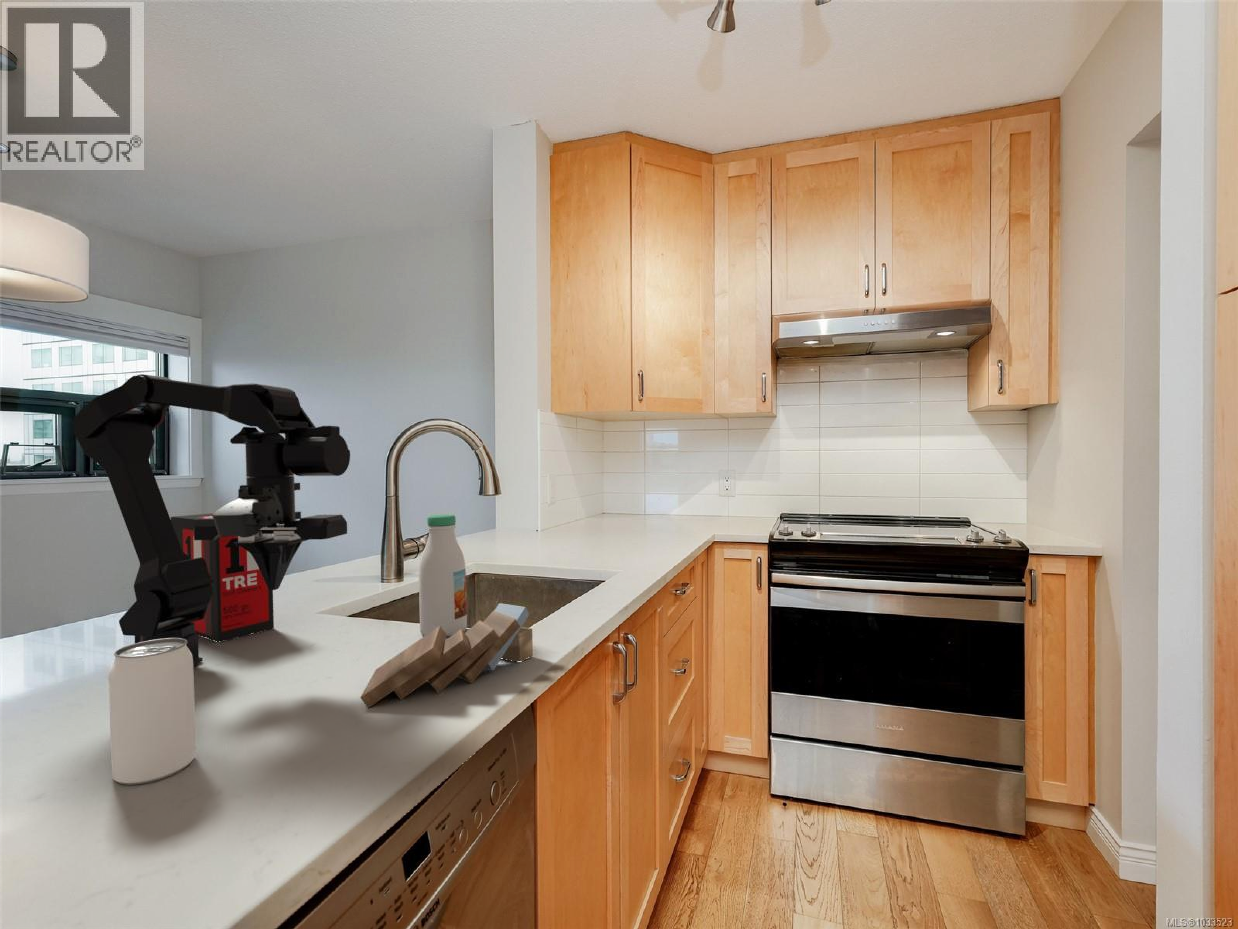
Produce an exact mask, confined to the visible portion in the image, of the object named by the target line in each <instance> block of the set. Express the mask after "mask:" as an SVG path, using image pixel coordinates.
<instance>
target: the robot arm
mask: <svg viewBox="0 0 1238 929" xmlns="http://www.w3.org/2000/svg"><path fill="white" fill-rule="evenodd" d="M142 404H144V406H142V407H141V408H140V409H139V408H137V407H139V406H140V405H142ZM171 406H172V407H179V408H183V409H185V408H186V409H192V410H198V411H205V412H211V413H216V414H219V415H222V416H223V417H225V418H227V419H229V420H231V421H234V422H237V423H238V424H242V425H245V426H243V427H242V429H241V430H240V431H239V432H238V433H236V434H235V435H233V437H231V439H230V440H229V442H230V444H232V445H245V478H246V483H245V484H243V485H242V484H241V485H239V489H238V490H237V491H238V492H237V493H238V496H237V498H236V499H234V500H232V501H230V502H228V503H226V504H225V505H223V506H222V507H220V508H219V509H217V510H215V511H213V512H212V516H213V517H210V518H203V519H199V520H198V522H197V523H196V525H195V526H194V540H216V539H217V538H218V537H222V538H226V537H227V536H238V542H234V544H235V545H236V546H241V547H243V548H244V549H245V550H247V551H248V552H250V553H251V555H252V556H253V558H254V560H255V561H256V563H257V565H258V567H259V570H260V572H261V574H262V576H263V579H264V581H265V583H266V585H267V587H268V589H269V590H273V591H276V590H278V589H279V588H280V587H281V584H282V582H283V580H284V579H285V578H284V577H285V575H286V573H287V571H288V568H289V566H290V564H291V563H292V560H293V558H294V557H295V554H296V553H297V552H298V549H299V548H300V546H301V544H303V542H306V541H309V540H329V539H333V538H337V537H339V536H344V535H347V534H348V522H347V521H346V518H345V517H344V516H343V515H342V514H316V515H311V516H306V517H302V512H301V511H296V496H295V495H296V491H300V490H301V482H295V476H297V477H338V476H339V477H340V476H342V475H343V474H344V473H346V471H347V469H348V468H349V465H350V461H351V451H350V449H349V447H348V444H347V441H346V439H345V438H344V437H343V436H342V435H341V434H340V433H341V432H340V431H341V430H340V427H339V425H321V426H317V427H316V426H315V424H314V422H313V421H312V420H311V418H310V417H309V416H308V415H307V412H305V410H304V409H303V407H302V406H301V402H300V400H299V397H298V396H297V394H296V392H295V391H294V390H293V389H291V388H286V387H280V386H275V385H274V386H273V385H267V384H259V383H251V382H250V383H239V384H237V383H236V384H230V385H225V386H218V385H210V384H202V383H198V382H197V383H196V382H191V381H190V382H188V381H182V380H175V379H171V378H169V377H166V376H158V375H151V374H145V373H144V374H142V373H141V374H137V375H132V376H131V377H130V378H128V379H127V380H126V381H125V382H124V383H123V384H122V385H121V386H118V387H116V388H114V389H112V390H109V391H107V392H105V393H103V394H100V395H97V396H96V397H94V398H93V399H91V401H89V403H87V404H86V405H85V406H84V407H83V408H82V407H81V409H80V410H79V411H78V412H77V414H76V415H75V416H74V417H73V419H72V423H71V424H72V425H71V426H72V432H73V434H74V437H75V438H76V440H77V441H78V443H79V445H80V447H81V449H82V451H83V453H84V454H85V455H86V456H88V457H89V458H90V459H92V461H94V462H95V463H96V464H97V465H99V466H100V467H102V468H103V469H104V470H105V472H106V475H107V478H108V480H109V483H110V485H111V488H112V491H113V494H114V497H115V499H116V502H117V505H118V507H119V510H120V513H121V516H122V518H123V521H124V523H125V526H126V529H127V531H128V534H129V538H130V540H131V543H132V545H133V548H134V550H135V553H136V555H137V556H136V557H137V559H138V562H139V567H138V570H137V573H136V576H135V580H134V583H133V590H134V594H135V600H136V601H135V602H134V603H133V604H132V605H131V606H130V607H129V608H128V610H126V612H125V613H124V614H123V615H122V616H121V618H119V620H118V623H119V624H118V625H119V627H120V630H121V632H122V635H123V636H131V637H132V636H134V644H135V643H139V642H144V641H149V640H155V639H164V638H182V639H186V640H187V644H186V645H187V647H188V649H189V650H190V652H191V653H192V656H193V667H194V666H196V665H198V664H200V663H201V662H203V661H204V660H203V659H204V658H203V657H200V656H199V654H200V652H199V651H200V649H199V636H198V634H195V623H191V622H194V621H197V620H202V619H204V616H205V613H206V610H207V606H208V604H209V601H210V599H211V597H212V596H213V589H212V585H211V583H214V580H213V579H212V578H211V576H210V574H209V573H208V569H207V564H206V561H205V560H204V559H203V558H202V557H200V558H195V559H192V558H190V557H189V556H188V555H186V554H185V553H184V552H183V551H182V549H181V546H180V544H179V541H178V538H177V536H176V533H175V530H174V528H173V525H172V522H171V516H170V514H169V512H168V509H167V506H166V503H165V501H164V497H163V496H162V493H161V491H160V488H159V485H158V482H157V479H156V476H155V474H154V472H153V469H152V466H151V462H150V457H151V454H152V452H153V448H154V445H155V443H156V442H155V436H154V431H155V430H156V428H158V427H159V426H161V424H163V422H164V421H165V418H166V414H167V410H168V409H169V407H171ZM258 429H259V430H261V431H259V430H258ZM282 434H284V436H283V435H282ZM272 535H273V536H272Z"/></svg>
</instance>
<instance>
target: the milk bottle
mask: <svg viewBox="0 0 1238 929" xmlns="http://www.w3.org/2000/svg"><path fill="white" fill-rule="evenodd" d="M426 521H427V529H428V538H427V541H426V544H425V547H424V549H423V551H422V554H421V556H420V560H419V566H418V569H419V570H418V571H419V572H418V592H419V594H418V597H419V599H418V600H419V601H418V602H419V605H418V606H419V630H420V634H421V635H422V636H423V637H424V636H426V635H427V634H429V633H430V632H431V631H433V630H434V629H436V628H437V627H439V626H441V628H442V629H443V630H444V632H445V633H446V638H447V637H448V638H449V637H451V636H452V635H453V634H455V633H456V632H458V631H459V630H460V629H462V630H463V632H464V633H465V632H466V629H467V626H468V625H467V624H468V619H467V618H468V614H467V612H468V611H467V608H468V606H467V605H468V604H467V574H466V573H467V572H466V571H467V570H466V561H465V557H464V554H463V551H462V549H461V547H460V545H459V543H458V540H457V538H456V533H455V528H456V521H457V520H456V515H454V514H433V515H429V516H427V520H426Z"/></svg>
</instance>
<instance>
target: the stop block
mask: <svg viewBox="0 0 1238 929" xmlns="http://www.w3.org/2000/svg"><path fill="white" fill-rule="evenodd" d="M533 648H534V647H533V628H530V627H524V626H522V627H521V628H520V630H519V631H518V633H517V635H516V636H515V638H514V639H513V641H512V642H511V644H510V645H509V647H508V649H507V650H506V652H505V653H504V655H503V656H502V658H503V659H507V660H506V661H508V660H512V661H511V662H513V661H523V660H525V659H526V658H528V657H531V656H533V655H534V654H533V653H534V650H533ZM533 657H534V656H533ZM531 658H532V657H531ZM503 659H502V660H503ZM525 661H526V660H525ZM523 662H524V661H523Z"/></svg>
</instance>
